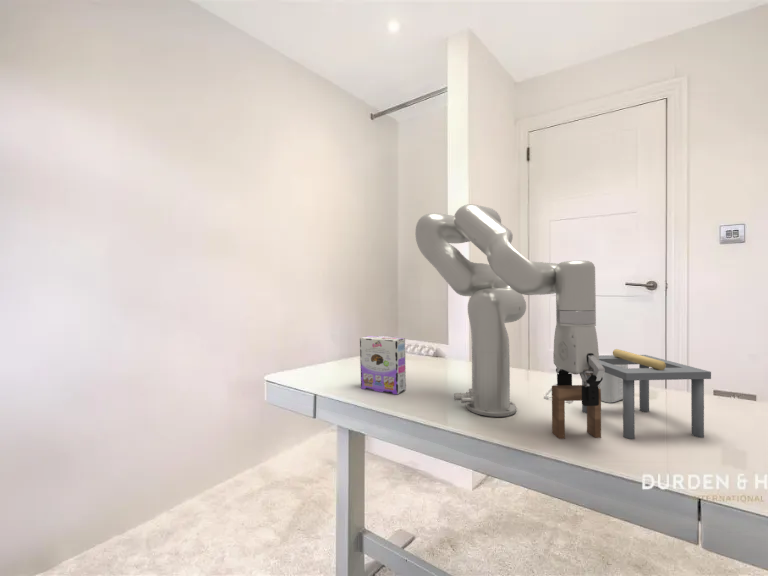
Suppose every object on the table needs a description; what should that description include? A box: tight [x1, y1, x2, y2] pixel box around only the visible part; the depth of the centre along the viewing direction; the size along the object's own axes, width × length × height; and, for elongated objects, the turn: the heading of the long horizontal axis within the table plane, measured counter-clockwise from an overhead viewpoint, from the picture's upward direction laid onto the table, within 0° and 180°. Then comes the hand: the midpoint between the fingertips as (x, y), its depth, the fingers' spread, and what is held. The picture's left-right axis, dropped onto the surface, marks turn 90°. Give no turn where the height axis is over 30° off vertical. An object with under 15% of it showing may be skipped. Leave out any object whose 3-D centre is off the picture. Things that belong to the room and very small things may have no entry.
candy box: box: [359, 335, 407, 395], centre depth 111 cm, size 14×6×16 cm, turn 58°
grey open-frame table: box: [581, 348, 712, 440], centre depth 83 cm, size 18×18×16 cm
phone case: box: [543, 383, 574, 404], centre depth 105 cm, size 7×1×15 cm
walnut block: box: [551, 384, 602, 440], centre depth 76 cm, size 3×9×10 cm, turn 92°
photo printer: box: [599, 364, 629, 404], centre depth 100 cm, size 10×4×12 cm, turn 123°
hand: (576, 397), depth 76 cm, fingers open, 9 cm apart
